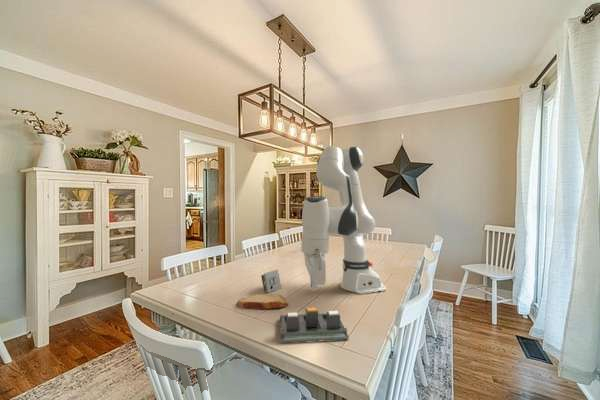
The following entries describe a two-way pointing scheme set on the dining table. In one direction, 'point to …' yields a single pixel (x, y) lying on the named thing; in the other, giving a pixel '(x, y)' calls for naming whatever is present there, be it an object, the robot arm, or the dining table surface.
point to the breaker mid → (311, 317)
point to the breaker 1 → (292, 322)
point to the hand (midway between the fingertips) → (314, 288)
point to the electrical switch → (271, 281)
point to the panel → (311, 330)
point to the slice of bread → (263, 302)
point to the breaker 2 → (333, 320)
